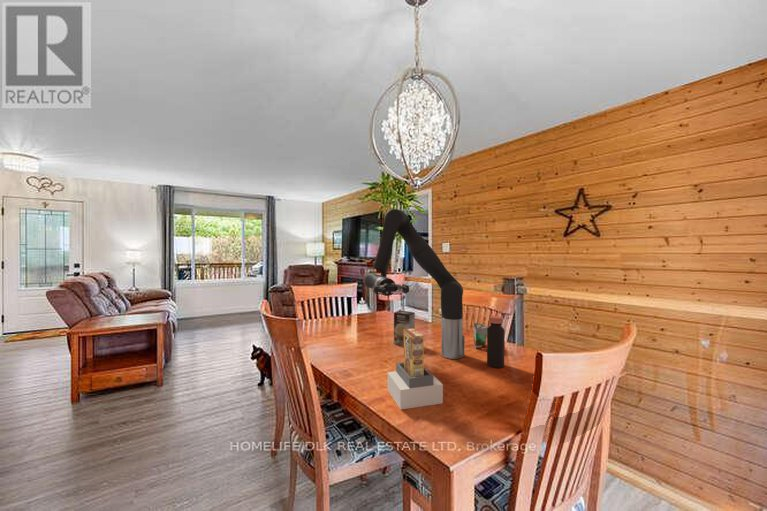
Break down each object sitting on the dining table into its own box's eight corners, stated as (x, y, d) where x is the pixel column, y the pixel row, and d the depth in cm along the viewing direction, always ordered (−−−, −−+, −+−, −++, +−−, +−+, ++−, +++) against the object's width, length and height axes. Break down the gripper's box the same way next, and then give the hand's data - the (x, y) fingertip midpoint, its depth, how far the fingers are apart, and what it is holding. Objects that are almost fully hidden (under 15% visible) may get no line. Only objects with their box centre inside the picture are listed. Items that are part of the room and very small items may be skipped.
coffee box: (393, 344, 160) (392, 312, 160) (399, 340, 166) (399, 310, 165) (409, 347, 155) (409, 314, 155) (415, 343, 161) (415, 312, 160)
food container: (489, 350, 150) (489, 329, 149) (475, 350, 151) (476, 329, 151) (486, 342, 162) (486, 323, 161) (473, 342, 163) (474, 322, 163)
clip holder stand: (425, 384, 114) (425, 359, 114) (442, 403, 101) (442, 375, 100) (387, 389, 110) (387, 363, 110) (400, 409, 97) (400, 380, 96)
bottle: (506, 364, 132) (507, 316, 131) (500, 369, 127) (500, 319, 126) (491, 360, 137) (491, 314, 136) (484, 365, 132) (484, 317, 131)
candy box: (424, 382, 102) (424, 335, 101) (411, 384, 100) (411, 336, 100) (414, 372, 110) (414, 328, 110) (403, 373, 109) (403, 328, 108)
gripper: (368, 277, 136) (378, 282, 121) (400, 276, 140) (413, 280, 124) (368, 295, 137) (378, 301, 121) (400, 293, 140) (413, 300, 125)
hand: (396, 291), depth 123 cm, fingers open, 8 cm apart
